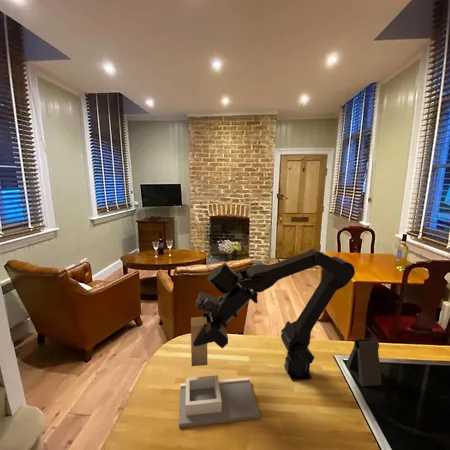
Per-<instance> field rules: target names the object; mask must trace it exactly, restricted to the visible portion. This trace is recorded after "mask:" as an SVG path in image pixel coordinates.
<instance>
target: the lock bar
mask: <svg viewBox="0 0 450 450" xmlns="http://www.w3.org/2000/svg"><path fill="white" fill-rule="evenodd" d="M204 323H205V324H206V325H207V317H203V316H196V317H193V316H192V317H190V343H191V344H190V345H191V346H190V351H191V353H190V354H191V367H198V366H199V367H200V366H201V367H202V366H208V343H207V344H203V345H200V346H197V347H195V346H194V345H193V343H194V342H195V340H196V339H197V338H198V337H199V335H200V334H201V333H202V332H203V330H204Z"/></svg>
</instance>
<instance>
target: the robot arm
mask: <svg viewBox="0 0 450 450" xmlns="http://www.w3.org/2000/svg"><path fill="white" fill-rule="evenodd" d="M317 266H318V267H321V268H322V269H321V280H320V282H319V284H318V285H317V287H316V289H315V290H314V291H313V294H312V295H311V296H310V298H309V300H308V302H307V303H306V305H305V306H304V308H303V309H302V311H301V312H300V314H299V316H298V317H297V319H296V320H295V321H293V322H291V321H288V320H287V322H286V323H285V325H284V327H283V328H282V329H281V331H280V332H281V334H280V339H281V342H282V344H283V345H284V348H285V349H286V350H287V354H286V355H287V356H285V362H284V366H283V367H284V370H285V371H286V373H287V374H288V377H289V379H290V380H291V381H301V380H303V381H304V380H311V379H312V374H311V373H310V367H311V364H313V362H314V359H315V356H314V354H313V353H312V351H311V350H310V349H309V346H310V343H311V333H312V330H313V329H314V327H315V326H316V324H317V322H318V321H319V319H320V318H321V316H322V314H323V312H324V311H325V309H326V308H327V307H328V305H329V304H330V302H331V300H332V299H333V297H334V295H335V294H336V293H337V291H338V290H340V289H343V288H344V287H346V286H347V285H348V284H349V283H350V281H352V279H353V278H354V276H355V274H356V271H355V267H354V265H353V264H352V263H350V262H348V261H346V260H345V259H343V258H342V257H338V256H329V255H327V254H326V253H323V252H322V251H320V250H318V249H316V248H312V249H311V248H310V249H309V250H307V251H305V252H302V253H300V254H298V255H293V256H291V257H288V258H286V259H283V260H281V261H277V262H275V263H271V264H269V263H268V264H263V263H262V264H258V265H252V266H249V267H248V268H247V269H243V270H236V271H234V270H233V269H231V268H230V266H229V265H228V264H227V263H226V262H223V263H222V264H221V265H220V264H219V265H218V266H217V267H214V268H213V269H212V270H211V272H210V273H209V274H208V276H207V279H206V280H207V281H208V282H209V283H210V284H211V285H212V286H213V287H214V288H216V290H218V291H219V292H220V293H221V294H223V295H219V296H218V297H216V296H214V295H211V294H209V293H206V292H203V291H200V292H199V294H198V297H197V298H196V301H195V308H196V309H198V310H199V311H202V317H207V325H206V324H205V323H204V330H203V332H202V333H201V334H200V335H199V337H198V338H197V339H196V340H195V342H194V343H193V345H194V346H195V347H197V346H200V345H203V344H207V345H208V344H211V343H215V344H216V345H217V346H218V347H220V348H221V349H224V348H225V347H226V346H227V345H228V344H229V336H228V332H227V330H226V328H227V327H228V326H229V325H228V322H229V321H231V319H232V318H235V319H236V318H237V317H238V316H239V313H238V312H239V311H241V309H242V308H243V307H244V306H246V304H248V302H249V301H250V300H251V301H252V302H253V303H254V304H258V297H259V296H258V295H259V293H262V292H264V291H267V290H268V289H270V288H271V287H273V286H274V285H275V284H276V283H277V282H278V281H280V280H281V279H282V280H283V279H284V278H288V277H290V276H293V275H295V274H298V273H300V272H301V273H302V272H303V271H306V270H309V269H312V268H314V267H317ZM224 294H225V295H224ZM222 326H223V327H222Z"/></svg>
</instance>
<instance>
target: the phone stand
mask: <svg viewBox="0 0 450 450" xmlns="http://www.w3.org/2000/svg"><path fill="white" fill-rule="evenodd" d="M379 348H380V343H379V341H378V340H377V339H376V338H357V339H356V338H355V339H354V344H353V348H352V349H351V352H350V354H349V356H348V358H347V361H346V363H345V367H346V368H347V367H348V368H347V369H348V370H349V371H350V373H351V374H352V376H354V378H355V379H356V380H357V382H358V384H360V385H361V386H362V387H373V386H374V387H375V386H382V385H383V383H382V375H381V374H382V372H381V364H380V357H379V356H380V355H379Z"/></svg>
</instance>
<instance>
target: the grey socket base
mask: <svg viewBox="0 0 450 450" xmlns="http://www.w3.org/2000/svg"><path fill="white" fill-rule="evenodd" d="M179 389H180V390H179V391H180V395H179V416H178V417H179V418H178V421H179V424H178V425H179V426H178V427H179V428H186V427H196V426H205V425H213V424H222V423H223V424H224V423H231V422H232V423H233V422H239V421H247V420H257V419H261V414H260V411H259V407H258V404H257V401H256V397H255V394H254V391H253V387H252V384H251V379H250V377H239V378H229V379H219V375H218V374H217V375H206V376H195V377H186V378H185V382H182V383H180V388H179Z"/></svg>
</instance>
